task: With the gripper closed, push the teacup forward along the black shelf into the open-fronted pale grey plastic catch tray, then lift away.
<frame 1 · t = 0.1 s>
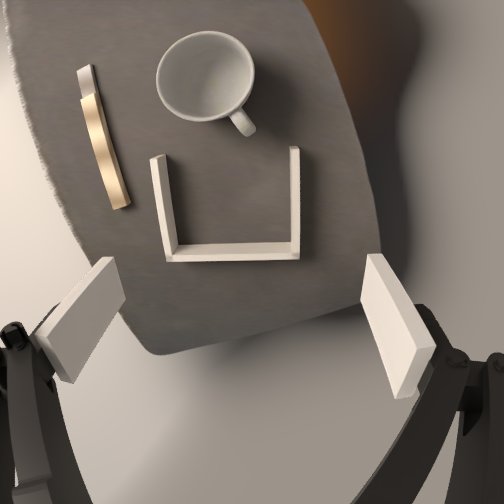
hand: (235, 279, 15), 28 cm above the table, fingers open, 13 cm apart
teacup: (221, 91, 36), on the table
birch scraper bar: (106, 149, 39), on the table
catch tray: (229, 201, 42), on the table
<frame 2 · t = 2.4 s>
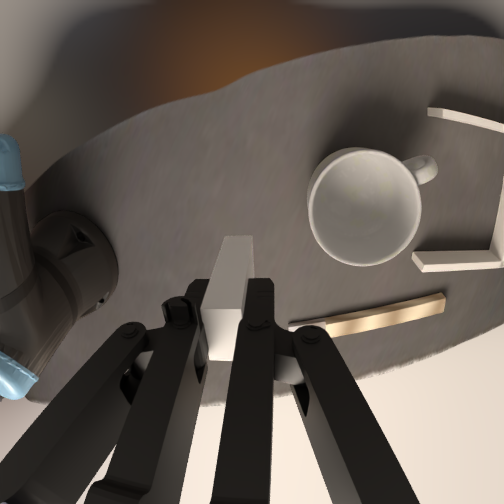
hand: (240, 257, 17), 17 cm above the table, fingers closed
teacup: (360, 183, 32), on the table
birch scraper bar: (386, 312, 39), on the table
catch tray: (469, 190, 30), on the table
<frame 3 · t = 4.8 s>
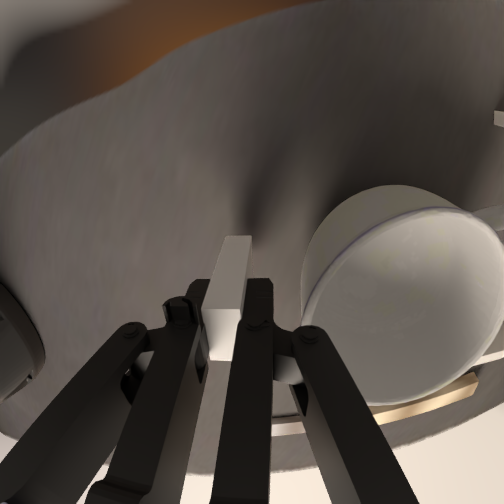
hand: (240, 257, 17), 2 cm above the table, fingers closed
teacup: (395, 240, 18), on the table, touching gripper
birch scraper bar: (399, 402, 25), on the table
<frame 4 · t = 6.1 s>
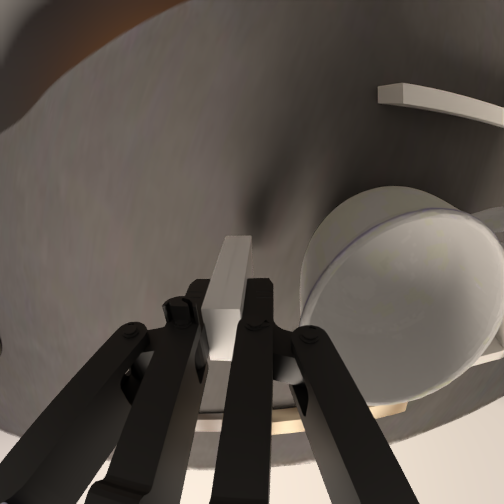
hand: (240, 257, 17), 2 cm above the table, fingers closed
teacup: (394, 241, 18), on the table, touching gripper
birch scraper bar: (315, 411, 26), on the table
catch tray: (462, 241, 17), on the table
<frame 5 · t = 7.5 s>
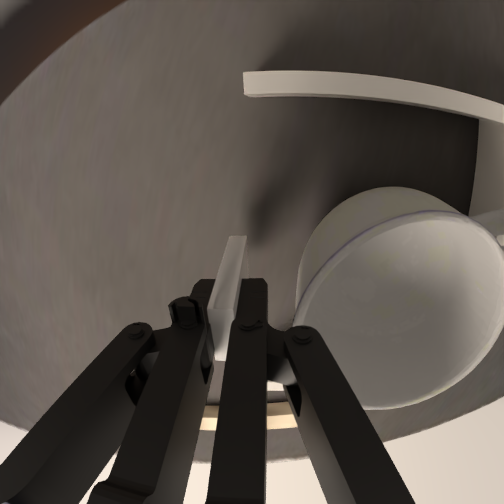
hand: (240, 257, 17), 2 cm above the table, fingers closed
teacup: (395, 242, 18), on the table, touching catch tray, gripper
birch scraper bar: (244, 411, 27), on the table
catch tray: (379, 243, 18), on the table
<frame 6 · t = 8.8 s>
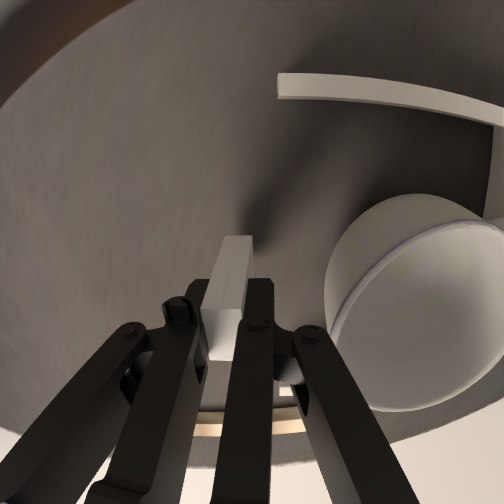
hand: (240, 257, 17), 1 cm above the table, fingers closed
teacup: (413, 247, 18), on the table
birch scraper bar: (257, 416, 26), on the table
catch tray: (399, 247, 17), on the table
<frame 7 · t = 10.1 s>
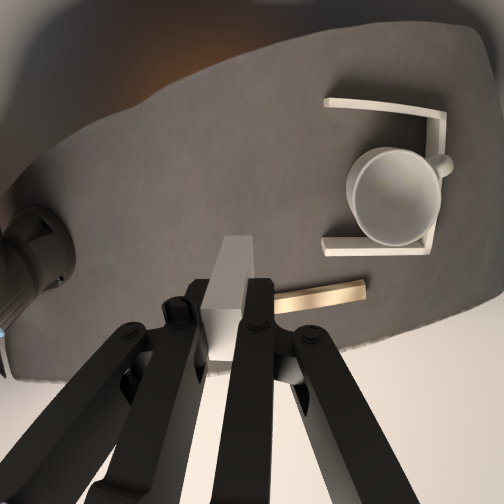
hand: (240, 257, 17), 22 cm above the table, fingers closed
teacup: (388, 177, 36), on the table
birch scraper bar: (304, 296, 44), on the table
catch tray: (380, 176, 35), on the table
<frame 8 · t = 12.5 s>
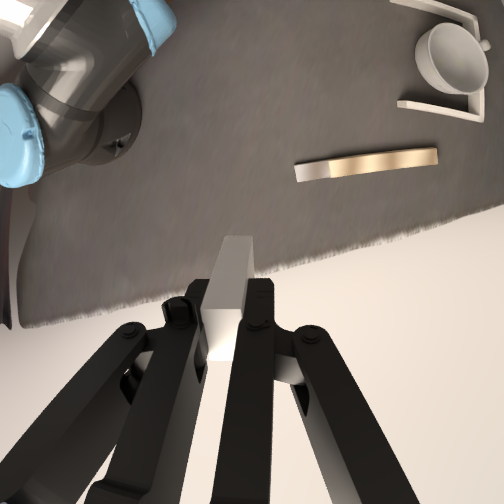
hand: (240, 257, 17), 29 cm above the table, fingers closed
teacup: (441, 60, 33), on the table
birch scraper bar: (384, 159, 41), on the table
catch tray: (436, 58, 33), on the table
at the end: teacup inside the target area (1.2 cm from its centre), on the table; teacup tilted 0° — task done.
